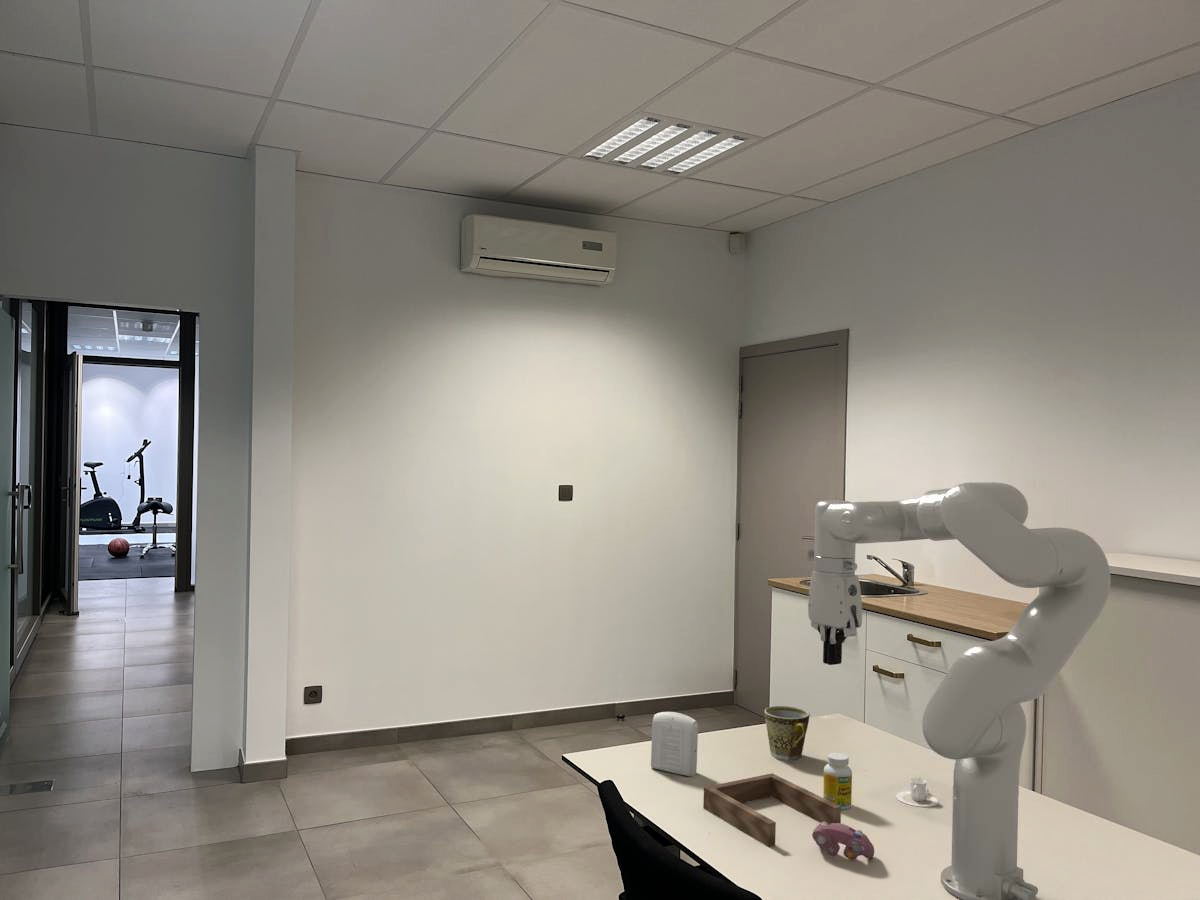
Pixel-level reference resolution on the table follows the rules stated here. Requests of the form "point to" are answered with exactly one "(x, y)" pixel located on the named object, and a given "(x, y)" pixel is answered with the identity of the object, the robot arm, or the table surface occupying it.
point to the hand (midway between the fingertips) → (832, 663)
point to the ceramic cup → (786, 731)
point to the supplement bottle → (838, 780)
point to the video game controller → (843, 840)
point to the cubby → (732, 794)
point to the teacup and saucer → (917, 793)
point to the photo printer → (674, 743)
